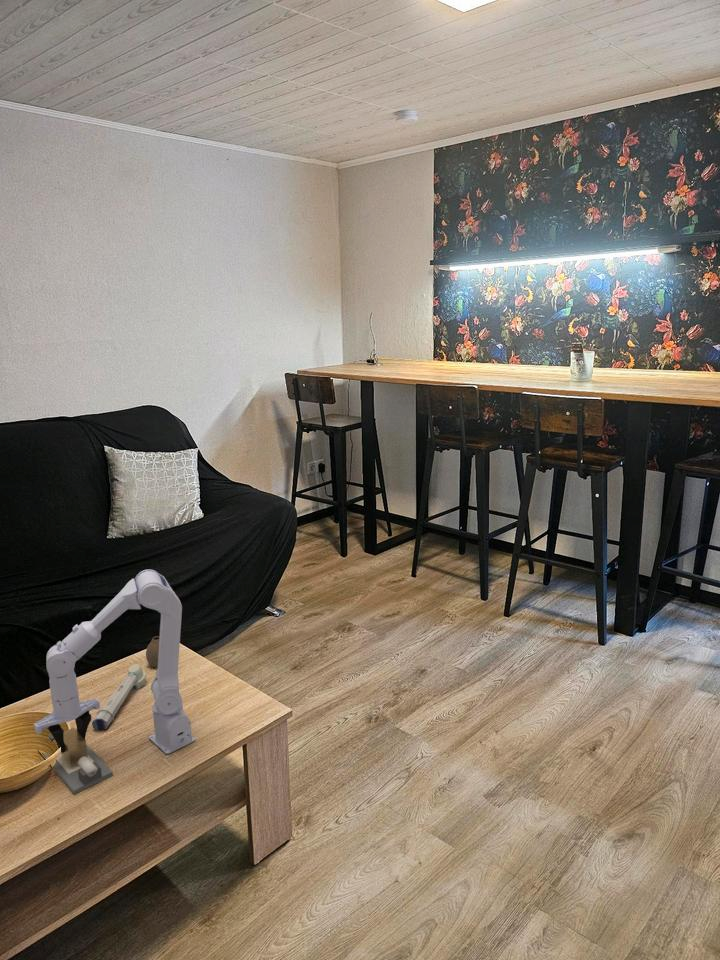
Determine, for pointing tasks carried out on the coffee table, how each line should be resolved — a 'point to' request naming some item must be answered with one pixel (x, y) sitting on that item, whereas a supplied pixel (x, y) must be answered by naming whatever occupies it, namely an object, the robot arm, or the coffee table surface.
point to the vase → (153, 652)
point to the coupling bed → (75, 775)
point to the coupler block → (74, 746)
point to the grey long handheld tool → (119, 697)
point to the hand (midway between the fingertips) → (72, 746)
